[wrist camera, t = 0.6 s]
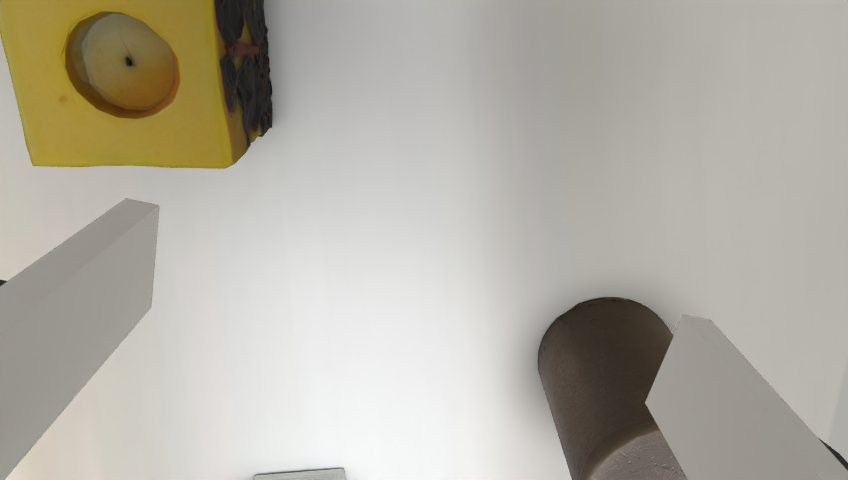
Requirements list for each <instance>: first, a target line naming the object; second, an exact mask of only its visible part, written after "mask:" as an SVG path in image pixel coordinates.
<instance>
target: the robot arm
mask: <svg viewBox="0 0 848 480" xmlns="http://www.w3.org/2000/svg"><path fill="white" fill-rule="evenodd" d="M159 206H160V205H156V204H152V203H147V202H142V201H137V200H132V199H128V198H126V199H125V200H123V201H122V202H120V203H119V204H117V205H116V206H115V207H113V208H112V209H110V210H109V211H107V212H106V213H105V214H103V215H102V216H100V217H99V218H97V219H96V220H94V221H93V222H92V223H90V224H89V225H87V226H86V227H84V228H83V229H82V230H80V231H79V232H77V233H76V234H74V235H73V236H72V237H70V238H69V239H67V240H66V241H64V242H63V243H62V244H60V245H59V246H57V247H56V248H54V249H53V250H52V251H50V252H49V253H47V254H46V255H44V256H43V257H41V258H40V259H39V260H37V261H36V262H34V263H33V264H31V265H30V266H29V267H27V268H26V269H24V270H23V271H21V272H20V273H19V274H17V275H16V276H14V277H13V278H11V279H10V280H9V281H4V280H0V480H5V478H6V477H7V476H8V475H9V474H10V473H11V471H12V470H13V469H14V468H15V467H16V466H17V464H18V463H19V462H20V461H21V460H22V459H23V457H24V456H25V455H26V454H27V453H28V451H29V450H30V449H31V448H32V447H33V446H34V444H35V443H36V442H37V441H38V440H39V439H40V437H41V436H42V435H43V434H44V433H45V431H46V430H47V429H48V428H49V427H50V426H51V424H52V423H53V422H54V421H55V420H56V419H57V417H58V416H59V415H60V414H61V413H62V412H63V410H64V409H65V408H66V407H67V406H68V404H69V403H70V402H71V401H72V400H73V399H74V397H75V396H76V395H77V394H78V393H79V392H80V390H81V389H82V388H83V387H84V386H85V385H86V383H87V382H88V381H89V380H90V379H91V377H92V376H93V375H94V374H95V373H96V372H97V370H98V369H99V368H100V367H101V366H102V365H103V363H104V362H105V361H106V360H107V359H108V357H109V356H110V355H111V354H112V353H113V352H114V350H115V349H116V348H117V347H118V346H119V345H120V343H121V342H122V341H123V340H124V339H125V338H126V336H127V335H128V334H129V333H130V332H131V330H132V329H133V328H134V327H135V326H136V325H137V323H138V322H139V321H140V320H141V319H142V318H143V316H144V315H145V314H146V313H147V312H148V311H149V309H150V308H151V304H152V291H153V279H154V267H155V255H156V243H157V231H158V218H159ZM645 404H646V405H647V407H648V409H649V411H650V413H651V414H652V416H653V418H654V420H655V422H656V423H657V425H658V427H659V429H660V430H661V432H662V434H663V436H664V438H665V439H666V441H667V443H668V445H669V447H670V448H671V450H672V452H673V454H674V455H675V457H676V459H677V461H678V463H679V464H680V466H681V468H682V470H683V472H684V473H685V475H686V477H687V479H688V480H848V463H847V462H846V461H845V459H844V458H843V457H842V456H841V455H840V454H839V453H838V452H836V451H835V450H834V449H832V448H831V447H830V446H828V445H827V444H826V443H824V442H823V441H822V440H820V439H819V438H818V437H817V436H816V435H815V434H814V433H813V432H812V431H811V430H810V429H809V428H808V426H807V425H806V424H805V423H804V422H803V421H802V420H801V419H800V418H799V416H798V415H797V414H796V413H795V412H794V411H793V410H792V409H791V408H790V407H789V405H788V404H787V403H786V402H785V401H784V400H783V399H782V398H781V397H780V396H779V394H778V393H777V392H776V391H775V390H774V389H773V388H772V387H771V386H770V385H769V383H768V382H767V381H766V380H765V379H764V378H763V377H762V376H761V375H760V373H759V372H758V371H757V370H756V369H755V368H754V367H753V366H752V365H751V364H750V362H749V361H748V360H747V359H746V358H745V357H744V356H743V355H742V354H741V353H740V351H739V350H738V349H737V348H736V347H735V346H734V345H733V344H732V343H731V341H730V340H729V339H728V338H727V337H726V336H725V335H724V334H723V333H722V332H721V330H720V329H719V328H718V327H717V326H716V325H715V324H714V323H713V322H712V321H711V320H708V319H704V318H699V317H694V316H689V315H684V314H683V315H682V318H681V320H680V322H679V325H678V327H677V329H676V332H675V334H674V336H673V339H672V341H671V343H670V346H669V348H668V350H667V353H666V355H665V357H664V360H663V362H662V364H661V367H660V369H659V371H658V374H657V376H656V378H655V381H654V383H653V385H652V388H651V390H650V392H649V395H648V397H647V399H646V402H645Z"/></svg>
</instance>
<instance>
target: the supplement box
mask: <svg viewBox="0 0 848 480" xmlns="http://www.w3.org/2000/svg"><path fill="white" fill-rule="evenodd" d="M254 480H346V478H345V472H344V469H343V468H340V469H329V470H317V471H305V472H293V473H279V474H267V475H256V476H255V477H254Z"/></svg>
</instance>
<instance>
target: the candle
mask: <svg viewBox="0 0 848 480" xmlns="http://www.w3.org/2000/svg"><path fill="white" fill-rule="evenodd" d="M263 2H264V1H263V0H0V35H1V39H2V43H3V47H4V51H5V54H6V58H7V62H8V66H9V70H10V74H11V78H12V83H13V87H14V91H15V95H16V99H17V103H18V108H19V112H20V117H21V121H22V126H23V131H24V136H25V141H26V146H27V149H28V152H29V155H30V158H31V162H32V165H33V166H49V167H90V166H119V165H135V166H154V167H170V168H227V167H229V166H231V165H233V164H235V163H236V162H237V161H238V160H239V159H240V158H241V157H242V156H243V155H244V154H245V153H246V151H247V150H248V148H249V146H250V145H251V144H250V143H252V142H254V141H255V139H256V137H257V136H259V137H263V135H264V134H265V133H266V132H267V130H268V129H269V128H271V127H272V103H271V100H270V97H271V94H272V87H271V81H270V79H269V77H268V75H269V72H270V69H269V67H268V65H269V58H268V56H267V55H268V42H267V36H266V34H267V31H268V29H267V28H266V26H265V18H264V10H263Z"/></svg>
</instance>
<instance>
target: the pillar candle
mask: <svg viewBox="0 0 848 480" xmlns="http://www.w3.org/2000/svg"><path fill="white" fill-rule="evenodd" d="M672 339H673V335H672V333H671V332H670V330H669V328H668V327H667V326H666V325H665V323H664V322H663V321H662V320H661V319H660V317H658V316H657V315H656V314H654V313H653V312H652V311H651V310H650V309H649V308H647V307H645V306H643V305H642V304H639V303H637V302H634V301H631V300H624V299H621V298H605V299H598V300H591V301H587V302H584V303H580V304H579V305H577V306H575V307H574V308H573V309H571V310H569V311H568V312H567V313H565V314H564V315H562V316H560V317H559V318H558V319H557V320H556V321H555V322H554V323H553V324H552V325H551V327H550V328H549V329H548V331H547V332H546V334H545V336H544V338H543V340H542V342H541V345H540V349H539V353H538V370H539V374H540V377H541V381H542V384H543V388H544V391H545V394H546V397H547V400H548V403H549V406H550V410H551V413H552V416H553V419H554V422H555V426H556V429H557V432H558V436H559V439H560V442H561V446H562V449H563V452H564V455H565V458H566V461H567V465H568V468H569V471H570V475H571V478H572V480H688V479H687V477H686V475H685V473H684V472H683V470H682V468H681V466H680V464H679V463H678V461H677V459H676V457H675V455H674V454H673V452H672V450H671V448H670V447H669V445H668V443H667V441H666V439H665V438H664V436H663V434H662V432H661V430H660V429H659V427H658V425H657V423H656V422H655V420H654V418H653V416H652V414H651V413H650V411H649V409H648V407H647V405H646V404H645V402H646V399H647V397H648V395H649V392H650V390H651V388H652V385H653V383H654V381H655V378H656V376H657V374H658V371H659V369H660V367H661V364H662V362H663V360H664V357H665V355H666V353H667V350H668V348H669V346H670V343H671V341H672Z"/></svg>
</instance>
